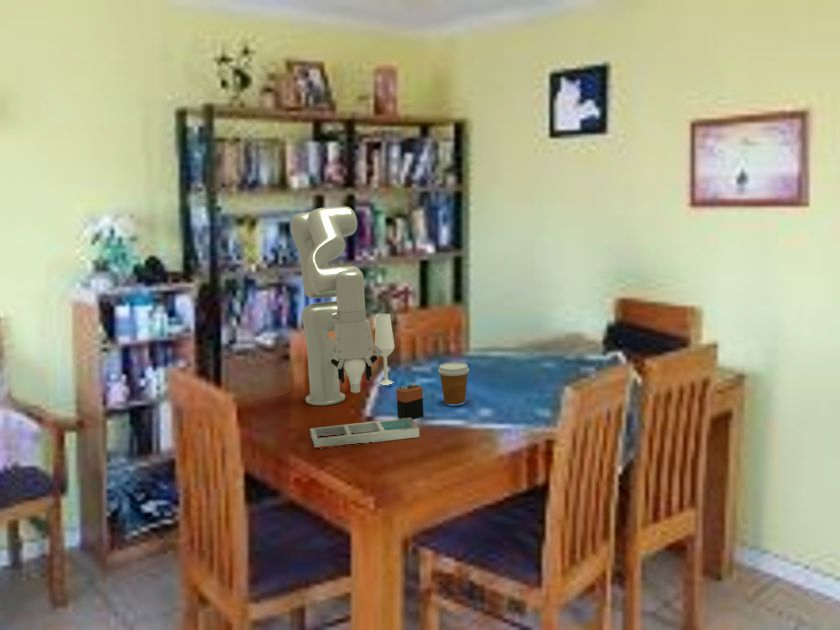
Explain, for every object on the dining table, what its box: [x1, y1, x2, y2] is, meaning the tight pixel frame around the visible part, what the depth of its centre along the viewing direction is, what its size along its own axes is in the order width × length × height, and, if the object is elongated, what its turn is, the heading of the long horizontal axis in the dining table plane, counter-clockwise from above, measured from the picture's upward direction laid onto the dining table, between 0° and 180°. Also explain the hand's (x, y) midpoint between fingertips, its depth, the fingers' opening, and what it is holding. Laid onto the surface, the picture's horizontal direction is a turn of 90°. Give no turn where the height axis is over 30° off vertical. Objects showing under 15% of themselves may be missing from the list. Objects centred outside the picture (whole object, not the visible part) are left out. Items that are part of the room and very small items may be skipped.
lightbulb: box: [342, 358, 366, 394], centre depth 234 cm, size 6×6×11 cm
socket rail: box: [309, 417, 420, 448], centre depth 238 cm, size 10×29×2 cm, turn 103°
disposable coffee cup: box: [437, 361, 470, 404], centre depth 265 cm, size 10×10×12 cm
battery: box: [396, 382, 424, 420], centre depth 253 cm, size 4×7×10 cm, turn 128°
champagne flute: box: [374, 313, 395, 385], centre depth 288 cm, size 7×7×24 cm
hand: (355, 380), depth 235 cm, fingers closed on lightbulb, 6 cm apart
